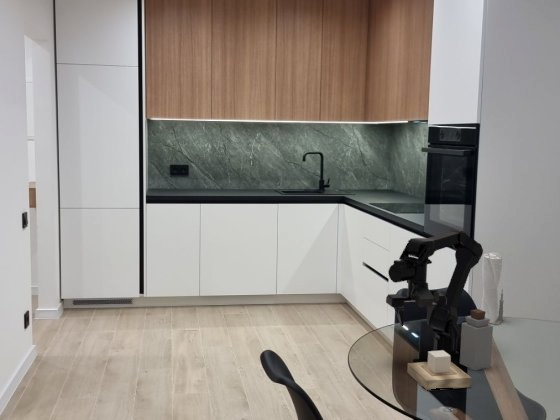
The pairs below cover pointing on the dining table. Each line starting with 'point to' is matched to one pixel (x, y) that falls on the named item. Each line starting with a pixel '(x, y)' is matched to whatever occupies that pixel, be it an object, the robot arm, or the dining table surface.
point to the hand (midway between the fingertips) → (415, 325)
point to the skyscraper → (492, 288)
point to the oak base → (438, 376)
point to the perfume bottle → (476, 341)
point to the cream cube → (439, 361)
